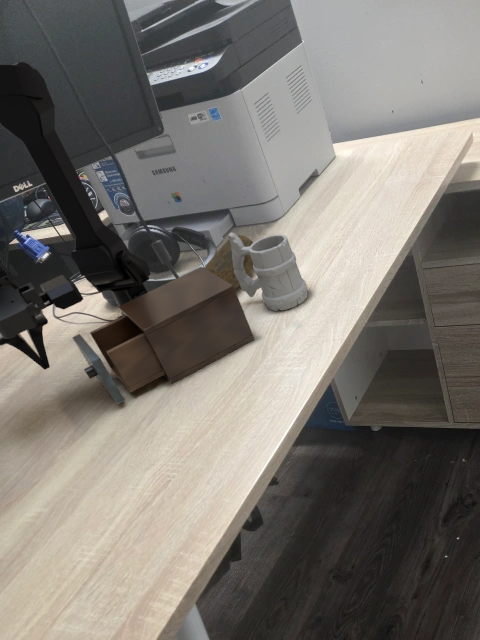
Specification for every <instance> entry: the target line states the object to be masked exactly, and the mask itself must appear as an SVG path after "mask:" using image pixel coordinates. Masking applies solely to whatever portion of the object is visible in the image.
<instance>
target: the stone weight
mask: <svg viewBox="0 0 480 640" xmlns="http://www.w3.org/2000/svg"><path fill="white" fill-rule="evenodd" d="M237 236H238V237H239V238H240V239H241V241H242V243H243V245H244V247H248V246H251V245H252V244H253V243H254V241H253V240H252V239H250V238H249V237H247V236H245V235H237ZM231 248H232V247H231V242H230V239H229V238H228V240H227V241H226V242H225V243H224V244H223V245H222V246H221V247H220V248H219V249H218V251H216V253H215V254H214V255H213V256H212V257H211V258H210V260H209V261H208V263H207V264H206V265H205V267H203V268H204V269H206V270H208V271H209V272H211V273H213V274H214V275H216V276H218V277H219V278H221V279H223V280H225V281H226V282H228V283H230V284H231V285H233V286H234V289H235V291H236V290H237V289H238V288H239V287H240V285H239V282H238V280H237V278H236V276H235V274H234V267H233V260H232V250H231ZM243 267H244V269H245V271H246V274H247V275H248V276H249V275H250V273H251V271H252V270H253V261H252V258H251V255H245V256H244V260H243Z"/></svg>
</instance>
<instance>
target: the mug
mask: <svg viewBox="0 0 480 640" xmlns="http://www.w3.org/2000/svg"><path fill="white" fill-rule="evenodd" d="M229 239H230V242H231V247H232V248H231V250H232V260H233V267H234V274H235V276H236V278H237V280H238V282H239V287H240V289H242V291H243V292H245V293H246V294H247V295H248V296H249V298H253V297H254V296H255V295H256V293H257V290H259V289H261V291H262V292H261V298H262V301H263V302H264V303H265V305H266V306H267V308H268V310H270V311H273V312H278V311H279V310H280V311H287V310H289V309H292V308H295V307H297V306H298V305H301V304H302V303H303V302H305V301H306V299H307V297H308V291H307V290H308V289H307V288H308V285H307V282H306V280H305V279H303V278H302V274H301V271H300V268H299V266H298V264H297V257H296V253H295V252H294V251H293V250H292V247H291V245H290V243H289V239H288V237H287V236H286V235H285V234H280V233H279V234H272V235H267V236H265V237H262V238H259V239H258V240H256V241H253V244H252V245H251V246H248V247H244V245H243V243H242V241H241V239H240V238H239V237H238V235H237V234H236V233H234V232H230V233H229V234H228V240H229ZM245 255H251V258H252V261H253V268H252V270H253V272H254V274H255V275H256V276H257V278H255V279H253V278H251V276H249V274H248V275H247V274H246V271H245V269H244V267H243V260H244V256H245Z"/></svg>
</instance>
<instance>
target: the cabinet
mask: <svg viewBox="0 0 480 640" xmlns="http://www.w3.org/2000/svg"><path fill="white" fill-rule="evenodd" d="M204 268H205V267H202V266H200V267H197V268H195V269H193V270H191V271H189V272H187V273H185V274H183V275H180V276H179V277H177V278H175V279H172V280H171V281H168V282H166V283H165V284H162V285H159V286H158V287H156V288H154V289H152V290H150V291H148V293H146V294H144V295H142V296H139V297H137V298H135V299H133V300H131V301H129V302H127V303H125V304H123V305H121V306H118V307H117V308H118V310H119V311H120V313H121V315H123V316H124V315H125V316H126V317H127V318H128V319H129V320H130V321H132V322H133V323H134V324H135V325H136V326H137V327H138V328H139V329H140V330H141V331H142V332H143V333H145V336H146V338H147V339H148V341H149V343H150V345H151V347H152V349H153V351H154V353H155V355H156V357H157V358H158V360H159V362H160V364H161V366H162V368H163V370H164V372H165V375H163V376H162V377H164V378H165V379H166V380H167V381H168V382H169V383H170V384H174V383H176V382H178V381H180V380H181V379H184V378H185V377H188V376H190V375H191V374H193V373H195V372H197V371H198V370H199V371H200V369H202V368H205V367H206V366H208V365H210V364H211V363H214V362H216V361H217V360H219V359H221V358H223V357H225V356H227V355H229V354H230V353H232V352H234V351H236V350H238V349H239V348H241V347H244V346H245V345H247V344H249V343H251V342H252V341H254V340H255V337H254V334H253V332H252V329H251V326H250V324H249V322H248V319H247V317H246V314H245V311H244V309H243V306H242V304H241V301H240V299H239V297H238V294H237V291H236V290H235V289H234V286H233V285H231V284H230V283H228V282H226V281H225V280H223V279H221V278H219V277H218V276H216V275H214V274H213V273H211V272H209V271H208V270H206V269H204Z"/></svg>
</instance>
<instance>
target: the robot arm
mask: <svg viewBox="0 0 480 640" xmlns="http://www.w3.org/2000/svg"><path fill="white" fill-rule="evenodd" d="M0 125H1V127H3V128H4V129H5V130H7V131H8V132H9V133H11V134H12V135H13V136H15V137H16V138H17V139H18V140H20V141H21V142H22V143H23V145H24V146H25V147H24V148H25V149H26V150H27V152H28V155H29V156H30V157H31V159H32V161H33V163H34V165H35V167H36V168H37V170H38V172H39V174H40V176H41V177H42V179H43V181H44V183H45V184H46V186H47V188H48V190H49V192H50V194H51V195H52V197H53V199H54V201H55V203H56V205H57V207H58V208H59V210H60V212H61V214H62V215H63V217H64V219H65V221H66V223H67V224H68V227H69V228H70V230H71V232H72V234H73V236H74V249H73V250H72V251H71V252H70V255H71V259H72V261H73V262H74V263H75V264H76V266H77V268H78V271H79V273H80V276H81V277H84V278H85V279H86V281H87V282H88V283H89V284H91V285H92V286H93V287H94V288H95V290H97V291H98V293H103V292H106V291H107V292H108V291H110V292H111V294H112V297H113V298H114V301H115V302H116V304H117V306H118V307H119V306H121V305H123V304H125V303H127V302H129V301H131V300H133V299H135V298H137V297H139V296H142V295H144V294H146V293H148V292H149V291H148V289H147V288H146V285H145V284H144V283H145V282H147V281H149V280H150V275H151V271H150V266H149V263H148V261H147V260H145V259H143V258H141V257H139V256H138V255H136V254H134V253H133V252H131V251H130V250H129V248H128V246H127V245H126V243H125V242H124V240H123V239H122V237H121V236H119V235H118V234H117V233H116V232H114V231H113V230H112V229H111V228H109V227H108V226H107V225H105V224H104V222H103V221H102V219H101V217H100V215H99V213H98V211H97V209H96V206H95V205H94V203H93V200H92V199H91V197H90V195H89V194H88V191H87V190H86V188H85V185H84V184H83V182H82V179H81V178H80V176H79V174H78V171H77V170H76V168H75V166H74V164H73V162H72V160H71V158H70V156H69V155H68V153H67V151H66V149H65V147H64V145H63V143H62V140H61V139H60V137H59V135H58V133H57V131H56V106H55V103H54V101H53V98H52V96H51V93H50V91H49V89H48V85H47V82H46V81H45V79H44V77H43V76H42V74H41V73H40V72H39V70H38V69H37V68H35V67H33V66H31V65H30V64H29V63H28V62H24V61H20V62H16V63H12V64H0ZM39 286H40V288H41V290H42V292H40V293H39V292H38V291H37V289H36V287H35V286H34V284H33V283H32V282H28V283H26V284H23V285H21V286H19V284H18V283H17V281H16V280H15V278H14V277H13V275H12V273H11V272H10V270H9V269H8V267H7V266H6V264H5V263H4V261H3V259H2V257H0V346H4V345H9V346H11V347H13V348H15V349H17V350H18V351H20V352H22V353H23V354H24V355H26V356H27V357H28V358H29V359H31V360H32V361H33V362H35V363H36V364H37V365H38V366H39V367H41V368H42V369H43V370H44V371H45V370H47V369H50V368H51V367H50V363H49V359H48V355H47V350H46V347H45V343H44V342H45V341H44V334H43V330H44V329H43V328H44V326H46V325H48V324H49V320H48V318H47V317H46V315H44V311H43V310H44V309H47V308H48V307H50V306H52V305H53V306H54V307H55V308H58V309H61V310H67V309H68V308H70V307H72V306H74V305H77V304H79V303H81V302H82V301H83V300H84V296H82V294H81V292H80V290H79V288H78V287H77V285H76V284H75V282H73V281H72V279H71V278H70V277H69V276H67V275H64V274H61V275H58V276H56V277H54V278H52V279H50V280H48V281H46V282H43V283H41V284H39ZM122 316H123V315H122V314H121V315H119V316H118V317H117V319H118V318H120V317H122ZM23 332H27V334H28V335H29V338H30V341H31V342H32V344H33V347H34V348H35V350H36V351H35V350H34V348H33V347H32V346H31V345H30V344H29V343H28V341H27V340H26V339H25V337H24V336H22V333H23Z"/></svg>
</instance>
